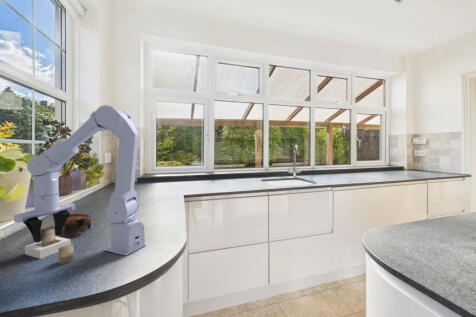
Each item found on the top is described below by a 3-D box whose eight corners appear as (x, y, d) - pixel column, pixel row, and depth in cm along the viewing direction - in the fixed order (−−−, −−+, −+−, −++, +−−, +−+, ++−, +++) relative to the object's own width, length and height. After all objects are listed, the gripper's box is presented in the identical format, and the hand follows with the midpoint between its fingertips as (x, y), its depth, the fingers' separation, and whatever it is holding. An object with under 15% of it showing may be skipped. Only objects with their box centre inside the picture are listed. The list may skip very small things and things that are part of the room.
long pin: (58, 249, 67) (57, 227, 67) (45, 253, 64) (44, 230, 64) (51, 247, 68) (50, 226, 68) (39, 252, 65) (38, 229, 65)
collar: (71, 247, 68) (70, 239, 68) (40, 259, 61) (39, 250, 61) (56, 243, 71) (56, 236, 71) (25, 254, 64) (24, 246, 64)
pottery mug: (52, 237, 78) (59, 215, 82) (78, 240, 85) (84, 219, 89) (74, 233, 74) (80, 209, 78) (99, 236, 81) (104, 214, 85)
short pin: (76, 259, 60) (75, 245, 60) (63, 265, 57) (62, 250, 57) (69, 257, 61) (68, 244, 61) (56, 263, 58) (55, 248, 58)
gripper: (65, 190, 74) (66, 228, 74) (7, 198, 60) (9, 245, 61) (78, 191, 71) (79, 231, 71) (20, 200, 58) (22, 249, 58)
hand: (48, 238), depth 66 cm, fingers open, 5 cm apart
